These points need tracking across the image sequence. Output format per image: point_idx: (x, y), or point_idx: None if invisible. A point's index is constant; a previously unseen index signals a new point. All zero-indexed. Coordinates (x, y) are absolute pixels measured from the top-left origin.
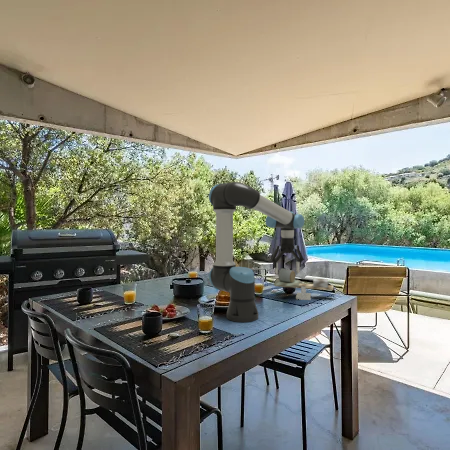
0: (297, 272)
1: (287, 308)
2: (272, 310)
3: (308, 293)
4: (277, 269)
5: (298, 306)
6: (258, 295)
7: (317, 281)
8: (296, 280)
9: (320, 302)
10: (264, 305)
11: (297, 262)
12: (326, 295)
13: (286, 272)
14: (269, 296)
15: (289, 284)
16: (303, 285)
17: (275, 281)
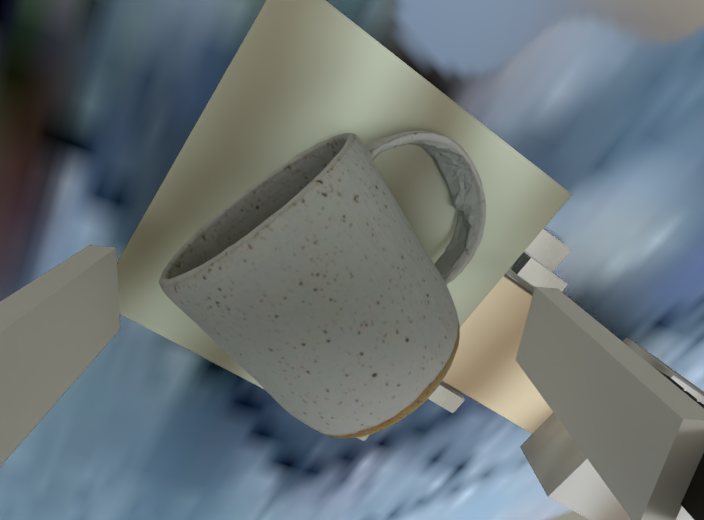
0: (525, 332)
1: (164, 499)
2: (42, 507)
3: (545, 250)
4: (67, 375)
5: (261, 483)
6: (43, 44)
7: (580, 511)
8: (511, 201)
9: (470, 450)
10: None
11: (646, 466)
12: (676, 297)
13: (269, 390)
14: (154, 136)
15: None
16: (459, 382)
17: (169, 180)
